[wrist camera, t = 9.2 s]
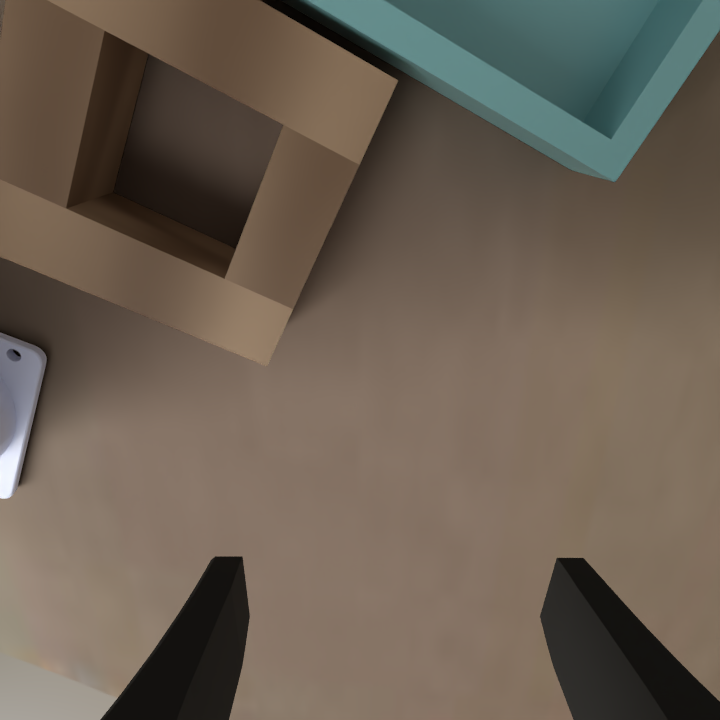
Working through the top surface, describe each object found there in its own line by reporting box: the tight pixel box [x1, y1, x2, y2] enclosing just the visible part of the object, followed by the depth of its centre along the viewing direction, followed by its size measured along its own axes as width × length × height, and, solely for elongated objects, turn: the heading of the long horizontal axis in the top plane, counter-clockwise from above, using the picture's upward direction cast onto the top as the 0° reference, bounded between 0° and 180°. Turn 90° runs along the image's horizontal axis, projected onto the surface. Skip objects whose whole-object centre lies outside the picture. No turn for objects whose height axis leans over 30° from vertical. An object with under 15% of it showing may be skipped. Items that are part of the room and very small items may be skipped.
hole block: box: [0, 0, 398, 366], centre depth 14 cm, size 9×9×3 cm
